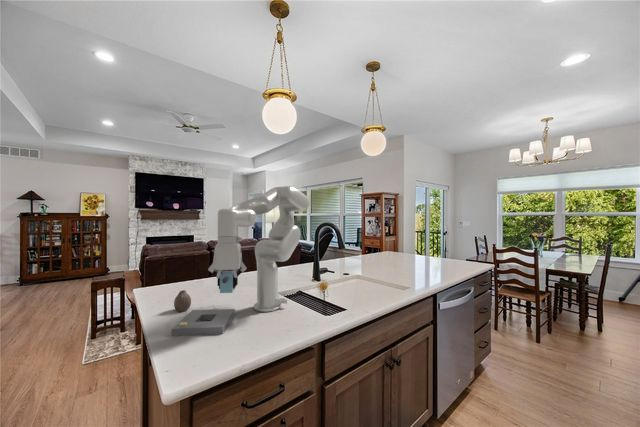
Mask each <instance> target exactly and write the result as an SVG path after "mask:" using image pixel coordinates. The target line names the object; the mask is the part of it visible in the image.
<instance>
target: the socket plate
mask: <svg viewBox="0 0 640 427" xmlns="http://www.w3.org/2000/svg"><path fill="white" fill-rule="evenodd" d="M235 314H236V309H235V308H224V309H221V308H220V309H219V308H218V309H216V308H214V309H192V310H191V311H189V312H188V313H187V314H186V315H184V317H183V318H182V319H181V320H179V321H178V322H177V323H176V324H175V325H174V326H173V327H171V336H172V335H173V336H198V335H199V334H203V335H223V334H224V332H225V331H226V329H227V327H228V326H229V325H230V323H231V322H232V320H233V318H234V317H235ZM197 334H198V335H197ZM199 336H200V335H199Z"/></svg>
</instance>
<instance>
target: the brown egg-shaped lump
mask: <svg viewBox="0 0 640 427" xmlns="http://www.w3.org/2000/svg"><path fill="white" fill-rule="evenodd" d="M191 304H192V298H191V296H190V295H189V294H188V293H187V291H186V290H185V289H184V290H183V289H182V290H180V291H179V293H178V294H177V295H176V297H175V298H174V301H173V307H174V310H175V311H177V312H178V313H183V312H186V311H188V310H189V309H190V307H191Z"/></svg>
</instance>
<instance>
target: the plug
mask: <svg viewBox="0 0 640 427" xmlns="http://www.w3.org/2000/svg"><path fill="white" fill-rule="evenodd" d="M233 278H234V274H233V270H223V271H222V273H221V274H220V289H219V294H230V293H231V294H233V293H234V291H235V289H236V287H235V288H233Z"/></svg>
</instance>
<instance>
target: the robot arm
mask: <svg viewBox="0 0 640 427" xmlns="http://www.w3.org/2000/svg"><path fill="white" fill-rule="evenodd" d="M309 200H310V199H309V198H308V196H307V195H306V194H304V193H303V192H302V191H300V190H299V189H297V188H296V187H294V186H291V185H286V186H285V185H284V186H275V187H273V188H270V189H269V190H267V191H266V192H264V193H262V194H261V195H258V196H255V197H252V198H250V199H247V200H245V201H241V202H239V203H236V204H235V205H233V206H231V207H229V208H220V209H219V210H218V211H217V244H215V246H214V254H213V262H212V263H211V265H210V266H209V267H208V268H207V270H208V271H209V272H210V273H211V274H213V275H214V277H215V278H216V279H217V287H218V290H220V274H221V273H222V272H223V271H233V274H234V278H233V288H235V289H236V287H237V286H238V283H239V282H238V277H239V276H240V275H241V274H242V273H244V272H245V271H246V270H247V266H246V265H245V263H244V262H243V256H242V255H243V253H242V246H241V243H240V242H242V241H243V237H240V236H239V228H250V227H253V226H254V225H255V224H256V223H257V221H258V220H257V219H258V215H259V216H260V215H265V214H267V213H270V212H271V211H272V210H274V209H275V208H277V207H278V210H279V218H278V219H277V220H276V222H275V223H274V224H273V226H272V228H270V230H269V233H268V239H261V240H260V241H258V242H257V243H256V245H255V246H254V255H255V260H256V303H254V304H253V309H254V311H257V312H261V313H264V312H265V313H266V312H267V313H268V312H269V313H270V312H273V311H278V310H279V309H281V307H282V304H285V305H286V304H288V299H286V298H285V297H284V298H282V297H280V295H279V294H278V293H279V292H278V289H279V288H278V286H279V285H278V284H279V282H278V279H279V278H278V273H279V271H278V270H279V269H278V265H277V263H278V262H280V263H282V262H286V261H288V260H289V259H290V258H291V256H292V254H293V253H294V251H295V249H296V247H297V246H298V245H299V243H300V240H301V235H302V234H301V229H300V227H299V226H298V225H297V224H296V225H295V218H294V216H293V214H292V212H306V211H307V210H308V209H309V207H310V201H309ZM276 262H277V263H276Z"/></svg>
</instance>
